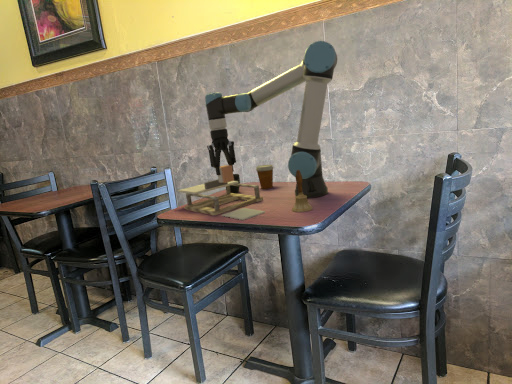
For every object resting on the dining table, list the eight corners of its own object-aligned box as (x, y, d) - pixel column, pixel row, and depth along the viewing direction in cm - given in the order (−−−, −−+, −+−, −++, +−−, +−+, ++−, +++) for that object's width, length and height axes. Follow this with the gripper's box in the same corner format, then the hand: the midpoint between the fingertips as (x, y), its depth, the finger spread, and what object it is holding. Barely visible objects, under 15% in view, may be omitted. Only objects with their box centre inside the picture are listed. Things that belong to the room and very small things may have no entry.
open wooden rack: (263, 199, 173) (261, 184, 172) (214, 215, 156) (211, 198, 154) (232, 195, 191) (230, 182, 190) (185, 209, 174) (182, 194, 172)
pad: (265, 212, 150) (265, 211, 150) (242, 220, 143) (242, 219, 143) (243, 208, 161) (243, 207, 161) (221, 216, 153) (221, 214, 153)
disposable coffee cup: (254, 189, 200) (252, 167, 198) (264, 185, 208) (262, 164, 206) (269, 189, 195) (266, 167, 192) (278, 185, 202) (276, 164, 200)
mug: (243, 189, 206) (241, 172, 204) (240, 193, 194) (237, 175, 193) (229, 190, 207) (226, 173, 205) (224, 195, 196) (222, 177, 194)
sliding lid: (238, 183, 182) (237, 175, 181) (195, 194, 166) (193, 185, 166) (220, 181, 193) (219, 174, 193) (178, 192, 178) (177, 184, 177)
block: (234, 180, 168) (231, 165, 166) (225, 182, 165) (222, 167, 163) (227, 180, 171) (225, 165, 170) (218, 182, 168) (216, 167, 167)
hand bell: (311, 211, 143) (307, 171, 140) (290, 212, 145) (285, 172, 142) (314, 206, 151) (310, 167, 148) (293, 207, 153) (289, 169, 150)
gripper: (229, 127, 172) (236, 176, 176) (196, 132, 161) (205, 184, 165) (239, 126, 166) (246, 176, 171) (206, 131, 155) (214, 185, 159)
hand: (226, 180), depth 168 cm, fingers closed on block, 5 cm apart
